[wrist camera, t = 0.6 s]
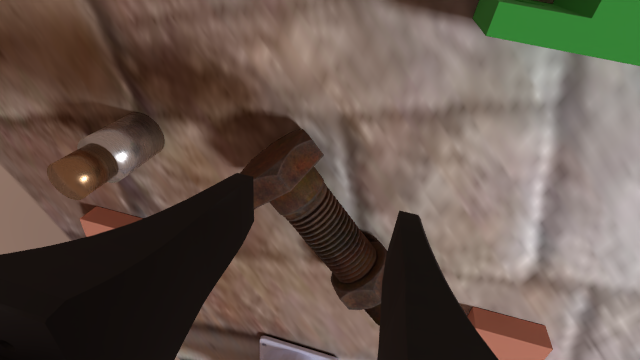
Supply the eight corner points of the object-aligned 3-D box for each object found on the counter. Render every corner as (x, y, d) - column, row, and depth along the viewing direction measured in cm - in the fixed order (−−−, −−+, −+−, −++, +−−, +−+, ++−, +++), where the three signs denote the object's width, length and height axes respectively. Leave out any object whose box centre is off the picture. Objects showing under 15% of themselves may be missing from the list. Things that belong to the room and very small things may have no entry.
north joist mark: (153, 244, 31) (139, 258, 30) (105, 231, 32) (89, 244, 30) (147, 219, 30) (132, 233, 28) (96, 206, 30) (79, 218, 29)
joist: (526, 348, 26) (533, 372, 25) (459, 330, 27) (461, 351, 26) (545, 325, 25) (552, 349, 23) (472, 306, 25) (475, 328, 24)
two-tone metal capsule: (167, 157, 25) (98, 211, 20) (129, 148, 26) (52, 198, 20) (160, 117, 23) (83, 163, 18) (119, 108, 24) (32, 151, 19)
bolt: (391, 276, 29) (280, 132, 23) (444, 288, 24) (323, 117, 19) (353, 338, 26) (217, 191, 21) (405, 363, 22) (252, 188, 17)
